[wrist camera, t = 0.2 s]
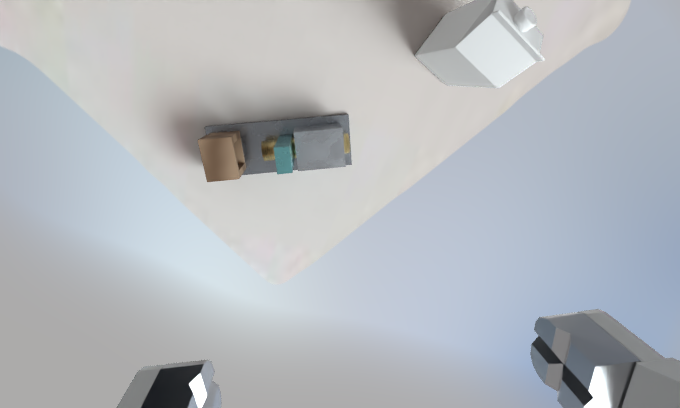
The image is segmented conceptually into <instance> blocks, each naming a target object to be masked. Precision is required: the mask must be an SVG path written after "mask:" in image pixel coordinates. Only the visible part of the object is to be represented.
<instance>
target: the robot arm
mask: <svg viewBox="0 0 680 408" xmlns="http://www.w3.org/2000/svg"><path fill="white" fill-rule="evenodd" d="M534 330H535V332H536V333H537V334H538V337H537V338H536V340H535V341H534V342H533V343H532V346H531V359H532V362H533V366H534V368H535V370H536V372H537V374H538V375H539V377H540V378H541V379H542V381H543V382H544V383H545V384H546V385H548V386H549V387H551V388H553V389H555V390H556V391H557V396H558V402H559V403H560V404H561V405H562V407H563V408H680V361H679V360H676V359H674V358H664V357H663V356H662V355H660V354H659V353H658V352H656V351H655V350H654V349H653V348H651V347H650V346H649V345H647V344H646V343H645V342H644V341H642V340H641V339H639V338H638V337H637V336H636V335H635V334H633V333H632V332H631V331H629V330H628V329H627V328H626V327H624V326H623V325H622V324H620V323H619V322H618V321H617V320H615V319H614V318H613V317H611V316H610V315H609V314H607V313H606V312H604V311H602V310H599V309H595V310H589V311H581V312H577V313H575V312H574V313H567V314H560V315H553V316H546V317H539V318H538V320H537V321H536V323H535V328H534ZM214 372H215V371H214V368H213V365H212V362H211V361H209V360H201V361H191V362H182V363H173V364H165V365H157V366H146V367H143V368H142V369H141V370H139V371H138V372H137V374H136V375H135V377H134V379H133V380H132V382H131V384H130V386H129V387H128V389H127V391H126V392H125V394H124V396H123V398H122V399H121V401H120V403H119V404H118V406H117V408H221V393H220V389H219V385H217V384H216V383H215V382H213V381H212V378H213V375H214Z"/></svg>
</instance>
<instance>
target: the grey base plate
mask: <svg viewBox="0 0 680 408" xmlns="http://www.w3.org/2000/svg"><path fill="white" fill-rule="evenodd" d="M205 130H206V135H208V134H209V133H220V132H231V131H239V132H240V137H241V143H242V148H243V154H244V159H245V165H246V170H245V171H244V172H243V174H242V175H248V174H258V173H269V172H277V168H276V161H275V160H271V161H264V159H263V156H262V149H261V142H262V141H268V140H278V138H279V136H283V135H292V136H293V138H294V141H295V149H296V158H295V160H294V167H293V170H298V171H304V170H315V169H325V168H336V167H346V165H352V163H351V147H350V153H346V154H345V151H344V136H343V134H346V133H348V134H349V140H350V131H349V115H348V114H345V115H333V116H321V117H310V118H298V119H287V120H275V121H264V122H252V123H241V124H229V125H217V126H206V127H205Z"/></svg>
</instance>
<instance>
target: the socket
mask: <svg viewBox="0 0 680 408" xmlns="http://www.w3.org/2000/svg"><path fill="white" fill-rule="evenodd" d="M198 144H199V149H200V153H201V157H202V162H203V166H204V170H205V175H206V179H207V182H213V181H224V180H234V179H239V178H240V177H241V175H242V174H243V172H244V171H245V170H246V165H245V159H244V154H243V148H242V143H241V137H240V132H239V131H231V132H220V133H209V134H208V135H206V136H204V137H202V138H200V139H199V140H198Z"/></svg>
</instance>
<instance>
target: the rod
mask: <svg viewBox="0 0 680 408" xmlns="http://www.w3.org/2000/svg"><path fill="white" fill-rule="evenodd" d="M343 136H344V151H345V154H346V153H350V140H349V134H348V133H346V134H343ZM261 149H262V156H263V159H264V161H271V160H275V161H276V168H277V174H284V173H293V167H294V160H295V158H296V149H295V141H294V138H293V136H292V135H283V136H279V138H278V140H268V141H262V142H261Z"/></svg>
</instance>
